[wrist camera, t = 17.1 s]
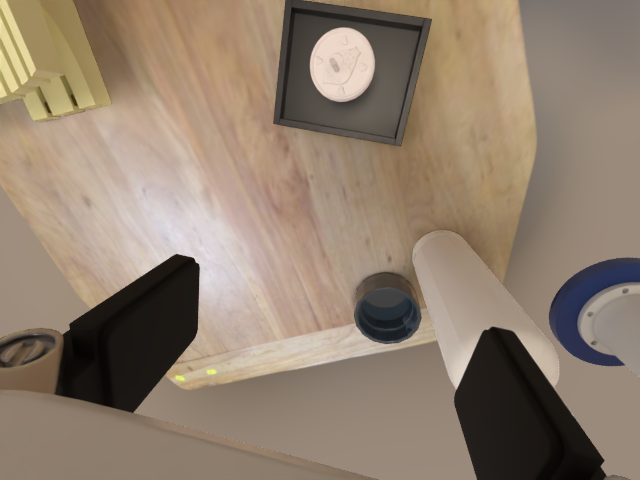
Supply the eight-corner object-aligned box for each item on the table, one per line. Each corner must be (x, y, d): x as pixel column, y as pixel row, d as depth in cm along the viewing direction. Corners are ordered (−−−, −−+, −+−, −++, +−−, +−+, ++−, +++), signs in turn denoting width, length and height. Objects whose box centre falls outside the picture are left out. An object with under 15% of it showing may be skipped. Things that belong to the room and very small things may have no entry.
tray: (428, 25, 36) (432, 18, 34) (398, 145, 41) (400, 146, 39) (290, 5, 38) (285, -3, 35) (278, 123, 43) (273, 123, 40)
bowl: (423, 279, 47) (429, 296, 43) (407, 329, 51) (411, 349, 46) (362, 266, 48) (361, 281, 44) (350, 316, 52) (348, 335, 47)
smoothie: (312, 75, 39) (284, 51, 26) (352, 36, 37) (344, -10, 24) (343, 117, 41) (331, 113, 28) (384, 82, 39) (391, 60, 26)
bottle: (435, 219, 44) (532, 355, 18) (482, 249, 45) (640, 424, 19) (400, 261, 47) (440, 431, 21) (444, 289, 48) (536, 489, 22)
